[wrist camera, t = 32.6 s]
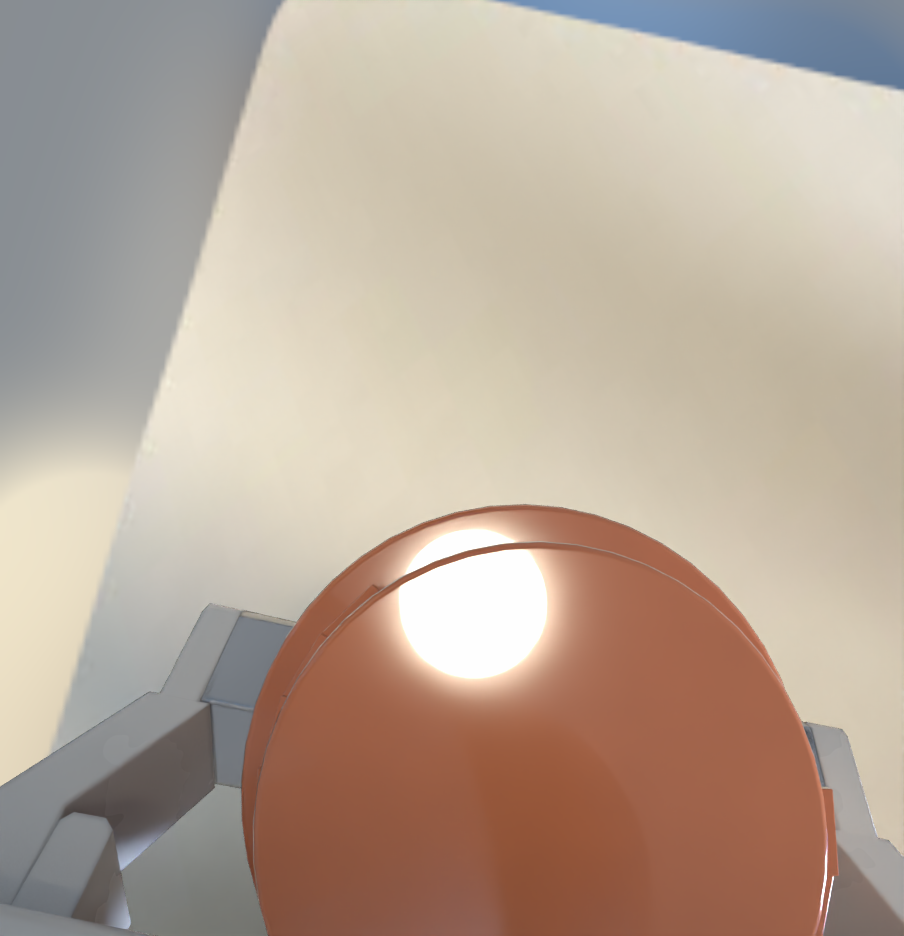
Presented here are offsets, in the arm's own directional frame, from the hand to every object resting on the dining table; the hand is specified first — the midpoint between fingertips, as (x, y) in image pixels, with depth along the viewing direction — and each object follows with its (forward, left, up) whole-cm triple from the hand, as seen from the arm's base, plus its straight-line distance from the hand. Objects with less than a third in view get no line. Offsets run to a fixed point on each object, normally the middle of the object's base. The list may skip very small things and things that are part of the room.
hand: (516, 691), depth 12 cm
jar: (0, -1, -6) cm, 6 cm away
